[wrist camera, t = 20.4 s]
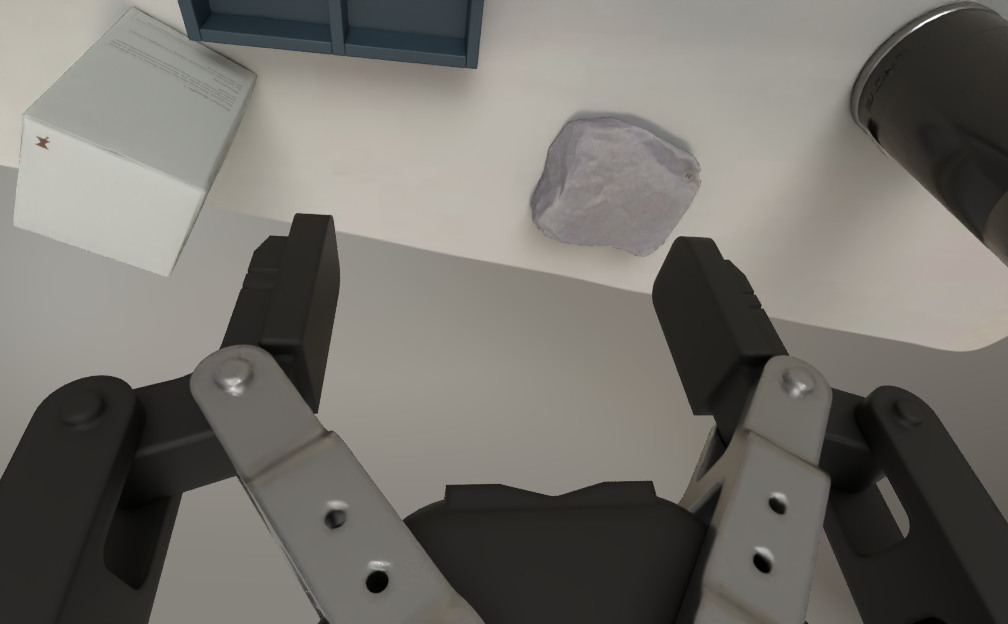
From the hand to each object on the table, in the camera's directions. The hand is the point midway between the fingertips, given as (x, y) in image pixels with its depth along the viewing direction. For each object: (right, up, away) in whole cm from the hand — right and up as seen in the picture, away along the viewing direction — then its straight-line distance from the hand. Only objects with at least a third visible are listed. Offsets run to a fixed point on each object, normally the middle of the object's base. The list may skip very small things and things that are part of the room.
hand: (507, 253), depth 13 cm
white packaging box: (-21, +13, +22) cm, 33 cm away
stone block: (+9, +10, +30) cm, 32 cm away
